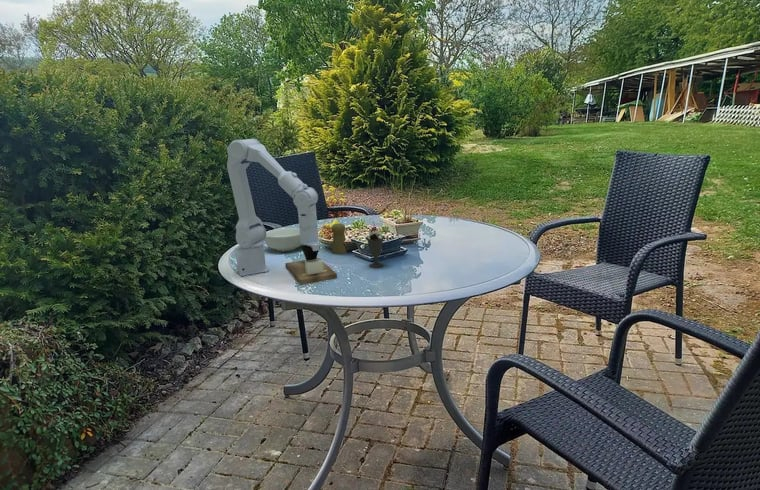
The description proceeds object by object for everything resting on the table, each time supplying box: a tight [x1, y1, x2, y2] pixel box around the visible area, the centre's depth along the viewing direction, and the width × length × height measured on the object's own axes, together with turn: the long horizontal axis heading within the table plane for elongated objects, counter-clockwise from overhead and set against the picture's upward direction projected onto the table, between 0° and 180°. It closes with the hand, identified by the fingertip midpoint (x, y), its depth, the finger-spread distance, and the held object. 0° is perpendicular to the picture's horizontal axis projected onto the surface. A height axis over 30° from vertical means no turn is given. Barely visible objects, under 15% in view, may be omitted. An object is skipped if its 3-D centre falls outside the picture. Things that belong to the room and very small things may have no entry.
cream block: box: [305, 258, 324, 275], centre depth 144 cm, size 5×3×4 cm, turn 115°
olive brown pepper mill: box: [331, 223, 348, 255], centre depth 171 cm, size 6×6×11 cm
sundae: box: [364, 221, 386, 269], centre depth 152 cm, size 7×7×15 cm
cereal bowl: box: [264, 227, 303, 252], centre depth 179 cm, size 17×17×7 cm
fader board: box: [284, 257, 338, 286], centre depth 150 cm, size 12×20×2 cm, turn 25°
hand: (311, 266), depth 147 cm, fingers closed
